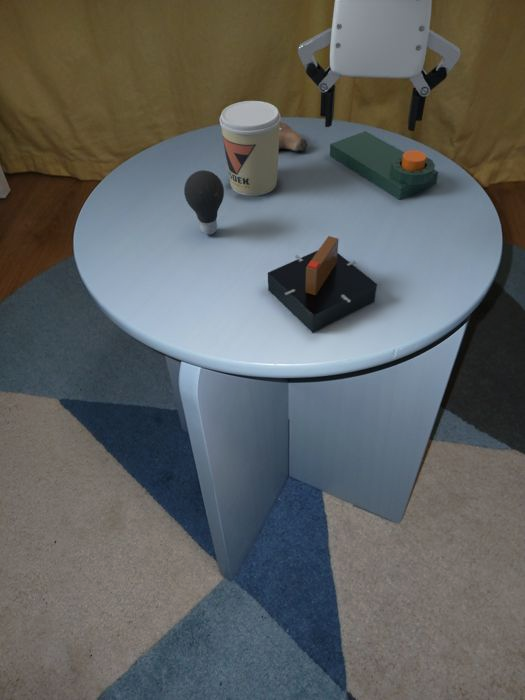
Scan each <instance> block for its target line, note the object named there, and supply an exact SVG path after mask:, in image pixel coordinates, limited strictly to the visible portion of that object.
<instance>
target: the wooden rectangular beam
mask: <svg viewBox="0 0 525 700" xmlns="http://www.w3.org/2000/svg"><path fill="white" fill-rule="evenodd" d="M338 249H339V238H338V237H334V236H330V235H328V236H327V237H326V239H325V240H324V241H323V243H322V244H321V246H320V247H319V249H317V250H318V251H317V250H316V251H317V253H316V254H315V256H314V257H313V258H312V260H311V261H310V263H309V264H308V265H307V267H306V293H309V294H312V295H316V294H317V293H318V291H319V290H320V288H321V287H322V285H323V283H324V282H325V280H326V279H327V277H328V276H329V274H330V273H331V271H332V270H333V268H334V267H335V265H336V264H337V253H339V252H338V251H339V250H338Z"/></svg>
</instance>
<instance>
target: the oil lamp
mask: <svg viewBox="0 0 525 700" xmlns="http://www.w3.org/2000/svg"><path fill="white" fill-rule="evenodd" d="M307 147H308V142H307V140H306V139H305V138H304V137H302V135H300V134H299V133H298V132H297V131H296V130H294V129H292V128H291V126H289V124H287V123H285V122H283V121H280V129H279V150H289V151H293V152H299V151H302V152H303V151H305V150H306V149H307Z"/></svg>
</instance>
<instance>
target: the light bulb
mask: <svg viewBox="0 0 525 700" xmlns="http://www.w3.org/2000/svg"><path fill="white" fill-rule="evenodd" d="M183 191H184V198H185V201H186V203H187V204H188V206H189V207H190V208H191V209H192V210H193V212H194V213H195V215H196V218H197V220H198V221H199V227H200V231H201V232H202V233H203V234H206V235H207V236H212V235H213V234H215V232H217V229H218V223H217V222H218V221H217V218H218V211H219V209H220V207H221V205H222V203H223V200H224V196H225V188H224V184H223V182H222V179H220V177H219V176H218V175H216V174H215V172H213V171H209V170H203V169H202V170H196V171H195V172H193V173H191V174H190V175H189V177H188V178H187V179H186V181H185V183H184V188H183Z"/></svg>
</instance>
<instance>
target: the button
mask: <svg viewBox="0 0 525 700" xmlns="http://www.w3.org/2000/svg"><path fill="white" fill-rule="evenodd" d="M426 157H427V154H426V153H425V152H423V151H420V150H415V149H414V150H413V149H412V150H411V149H410V150H406V151H404V154H403V158H402V164H401V166H402V167H403V168H404V169H406V170H411V171H420V170H422V169H424V167H425V162H426Z"/></svg>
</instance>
